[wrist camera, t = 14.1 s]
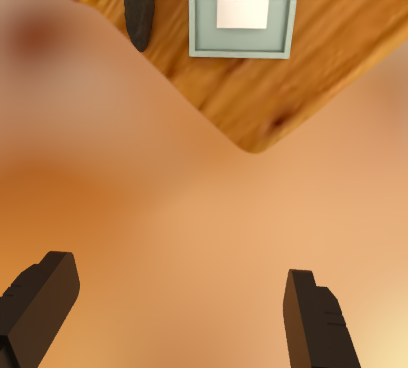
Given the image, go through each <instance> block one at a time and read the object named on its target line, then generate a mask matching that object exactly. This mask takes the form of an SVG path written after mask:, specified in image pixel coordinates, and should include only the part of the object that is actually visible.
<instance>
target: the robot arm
mask: <svg viewBox="0 0 408 368" xmlns="http://www.w3.org/2000/svg"><path fill="white" fill-rule="evenodd" d="M79 289H80V282H79V277H78V273H77V268H76V264H75V260H74V256H73V254H72V253H71V252H60V251H59V252H58V251H50V252H48V253H47V254H46V255H45V257H44V258H43V259H42V260H41V262H40V263H39V264H33V265H32V266H30V267H29V268H27V269H26V270H24V271H23V272H21V274H20V275H19V276H18V277H17V278H16V279H15V280H14V281H13V283H12V284H11V287H8V289H7V290H6V291H5V292H4V294H3V296H2V297H0V368H37V367H38V366H39V364H40V362H41V361H42V359H43V357H44V355H45V354H46V352H47V350H48V348H49V347H50V345H51V343H52V341H53V340H54V338H55V336H56V334H57V333H58V331H59V329H60V327H61V326H62V324H63V322H64V320H65V319H66V316H67V315H68V313H69V312H70V310H71V308H72V306H73V305H74V303H75V301H76V299H77V297H78V294H79ZM283 317H284V324H285V330H286V338H287V344H288V351H289V358H290V365H291V368H361V366H360V363H359V360H358V357H357V355H356V352H355V349H354V346H353V343H352V340H351V337H350V334H349V332H348V329H347V327H346V323H345V320H344V317H343V316H342V311H341V308H340V306H339V303H338V300H337V299H336V297H335V296H334V295H333V294H332V293H331V291H330V290H329V289H328V288H327V287H319V286H316V283H315V280H314V276H313V273H312V271H309V270H296V269H290V270H289V272H288V278H287V283H286V288H285V294H284V300H283Z"/></svg>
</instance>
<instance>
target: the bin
mask: <svg viewBox="0 0 408 368" xmlns="http://www.w3.org/2000/svg"><path fill="white" fill-rule="evenodd" d="M296 1H297V0H269V3H268V14H267V25H266V29H263V28H217V0H189V56H190V57H234V58H278V59H289V56H290V48H291V40H292V33H293V25H294V17H295V9H296Z"/></svg>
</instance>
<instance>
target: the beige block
mask: <svg viewBox="0 0 408 368" xmlns="http://www.w3.org/2000/svg"><path fill="white" fill-rule="evenodd" d="M268 3H269V0H217V28H263V29H266V25H267V14H268Z"/></svg>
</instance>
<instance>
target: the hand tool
mask: <svg viewBox="0 0 408 368" xmlns="http://www.w3.org/2000/svg"><path fill="white" fill-rule="evenodd" d="M124 6H125V14H124V15H125V19H126V28H127V32H128V35H129V36H130V39H131V42H132V43H133V45H134V46H135V47H136V49H137V50H138V51H139V52H143V51H144V50H145V49H146V47H147V44H148V41H149V36H150V31H151V28H152V20H153V14H154V8H155V3H154V0H124Z"/></svg>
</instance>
